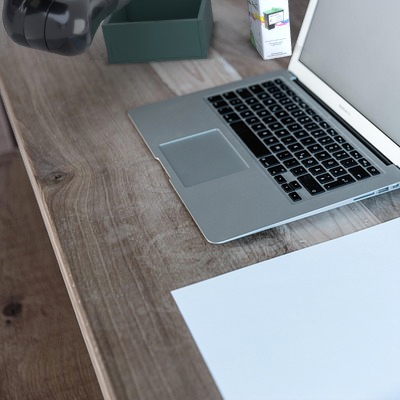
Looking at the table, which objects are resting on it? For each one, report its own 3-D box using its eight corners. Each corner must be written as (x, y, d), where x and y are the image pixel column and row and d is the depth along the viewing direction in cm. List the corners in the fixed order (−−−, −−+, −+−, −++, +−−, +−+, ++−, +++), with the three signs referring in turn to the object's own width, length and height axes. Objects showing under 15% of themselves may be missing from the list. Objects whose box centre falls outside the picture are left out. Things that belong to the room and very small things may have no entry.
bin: (109, 65, 114) (101, 25, 110) (126, 28, 126) (118, -8, 123) (207, 59, 114) (202, 19, 110) (213, 23, 127) (209, -13, 123)
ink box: (249, 42, 119) (242, -29, 113) (278, 37, 121) (272, -33, 114) (263, 61, 113) (256, -13, 106) (293, 56, 114) (288, -18, 107)
